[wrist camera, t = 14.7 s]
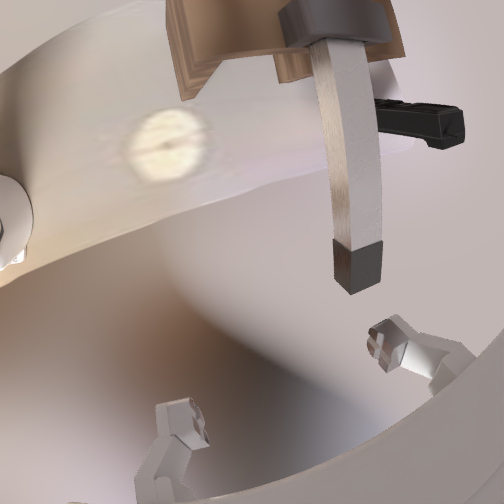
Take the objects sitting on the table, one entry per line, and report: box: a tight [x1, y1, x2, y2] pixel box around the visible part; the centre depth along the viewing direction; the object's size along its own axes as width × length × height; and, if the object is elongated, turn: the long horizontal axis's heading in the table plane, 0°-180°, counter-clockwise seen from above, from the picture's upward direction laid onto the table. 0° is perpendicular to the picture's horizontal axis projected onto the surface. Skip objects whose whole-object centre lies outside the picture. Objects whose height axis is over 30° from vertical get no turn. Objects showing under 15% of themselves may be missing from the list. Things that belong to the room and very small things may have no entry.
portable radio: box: [374, 99, 465, 150], centre depth 33 cm, size 8×6×25 cm
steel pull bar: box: [307, 37, 383, 295], centre depth 17 cm, size 3×24×3 cm, turn 12°
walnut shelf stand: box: [166, 0, 405, 101], centre depth 21 cm, size 18×14×30 cm
